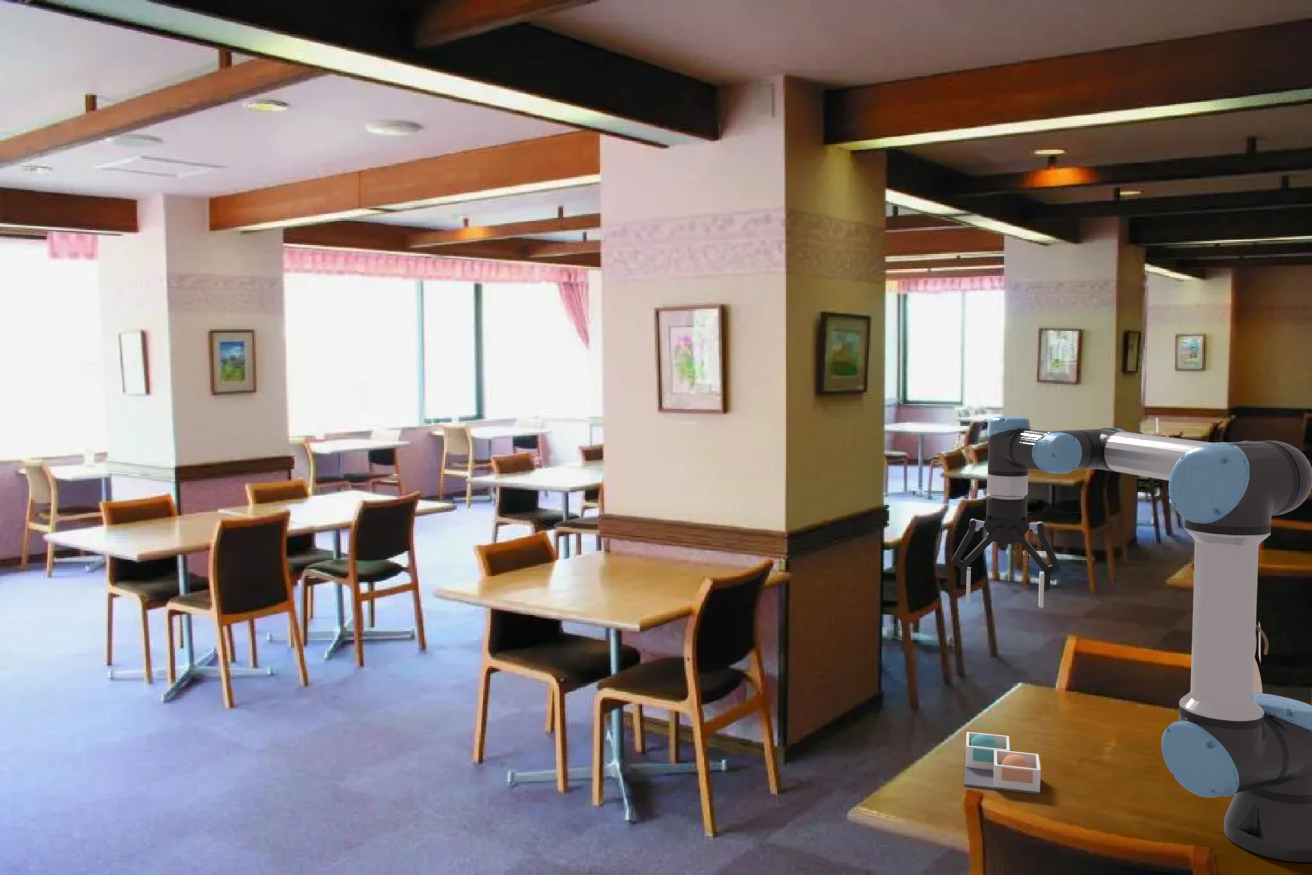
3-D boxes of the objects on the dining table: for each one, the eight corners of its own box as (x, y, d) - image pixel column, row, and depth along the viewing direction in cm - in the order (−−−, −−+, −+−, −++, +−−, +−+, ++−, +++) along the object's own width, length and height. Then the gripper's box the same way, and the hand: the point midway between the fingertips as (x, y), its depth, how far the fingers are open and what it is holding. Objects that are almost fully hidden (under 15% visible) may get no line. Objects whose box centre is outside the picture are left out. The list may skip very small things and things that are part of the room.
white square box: (1041, 794, 192) (1041, 770, 191) (993, 789, 194) (994, 765, 194) (1038, 777, 200) (1039, 754, 199) (993, 772, 202) (993, 749, 201)
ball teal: (1000, 761, 203) (991, 736, 203) (974, 768, 205) (965, 743, 205) (1000, 751, 208) (991, 727, 208) (974, 758, 209) (965, 733, 209)
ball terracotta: (1029, 790, 194) (1031, 766, 192) (1000, 786, 195) (1001, 762, 194) (1028, 774, 199) (1030, 750, 197) (1000, 770, 200) (1001, 747, 198)
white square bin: (1010, 774, 201) (1010, 751, 201) (965, 769, 203) (965, 746, 203) (1009, 758, 209) (1009, 735, 208) (966, 753, 211) (966, 731, 210)
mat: (1040, 794, 192) (1040, 792, 192) (964, 785, 196) (964, 783, 196) (1036, 760, 207) (1036, 758, 207) (965, 753, 211) (965, 751, 211)
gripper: (1074, 496, 210) (1070, 603, 212) (941, 491, 217) (939, 594, 219) (1077, 501, 203) (1073, 612, 205) (939, 496, 210) (937, 603, 212)
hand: (1004, 603), depth 212 cm, fingers open, 13 cm apart
